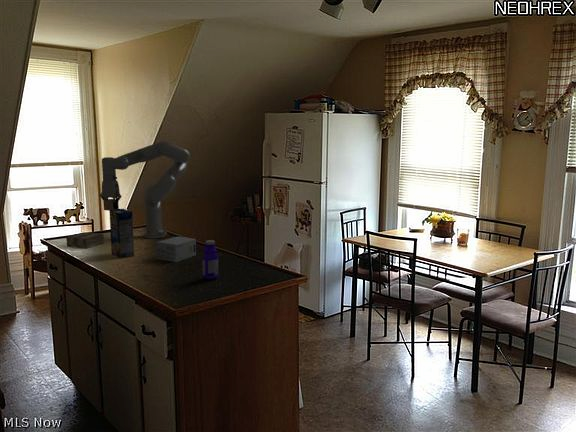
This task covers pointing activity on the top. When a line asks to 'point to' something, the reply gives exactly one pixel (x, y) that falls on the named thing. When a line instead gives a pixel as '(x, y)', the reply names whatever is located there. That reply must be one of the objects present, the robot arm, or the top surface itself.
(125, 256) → the juice carton
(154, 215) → the robot arm
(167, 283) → the top surface
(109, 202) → the terracotta cube
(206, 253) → the bottle
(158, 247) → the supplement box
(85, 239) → the grey flat block
